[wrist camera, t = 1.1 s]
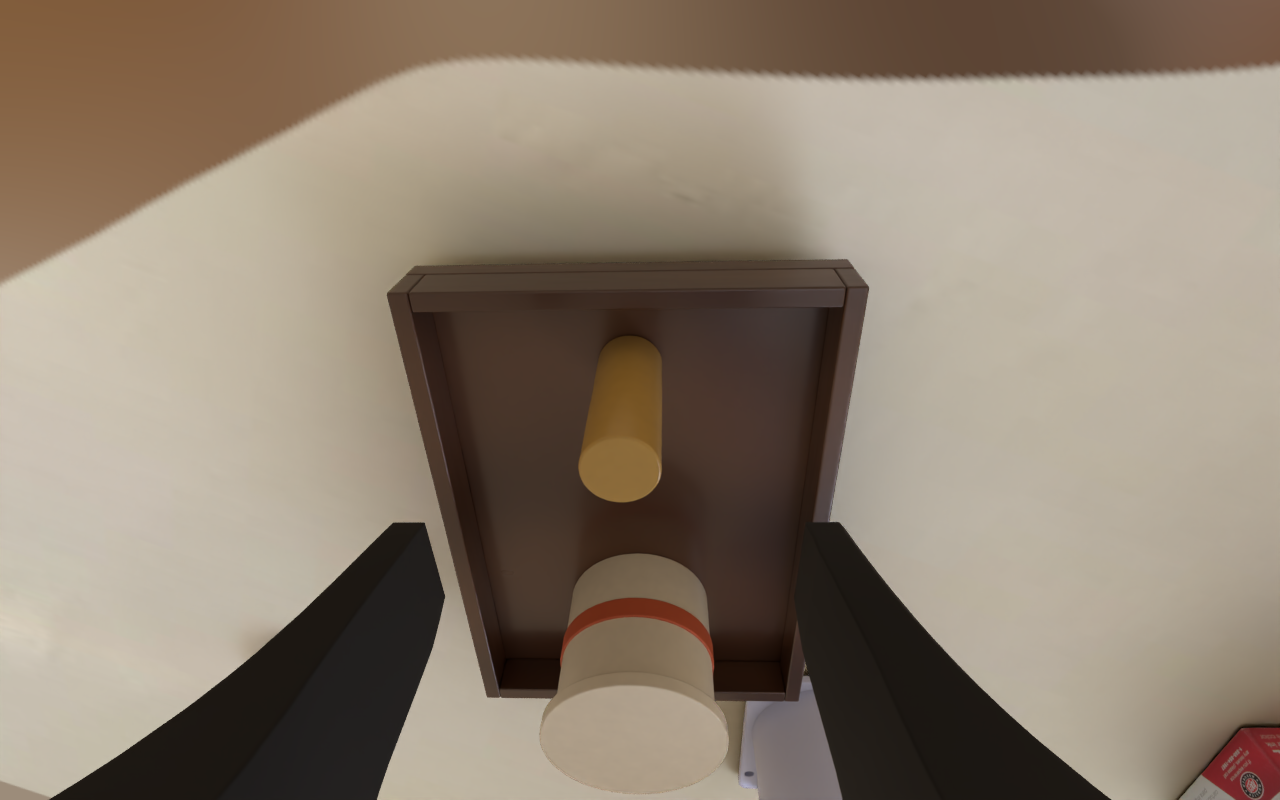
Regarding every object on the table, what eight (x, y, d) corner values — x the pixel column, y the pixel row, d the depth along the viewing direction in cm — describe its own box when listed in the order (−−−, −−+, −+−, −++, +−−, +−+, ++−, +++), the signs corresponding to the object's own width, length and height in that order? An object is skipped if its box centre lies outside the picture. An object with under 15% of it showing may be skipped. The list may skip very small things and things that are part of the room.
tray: (789, 654, 28) (819, 806, 22) (498, 651, 28) (460, 799, 23) (848, 258, 18) (924, 355, 13) (413, 265, 19) (314, 361, 14)
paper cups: (713, 652, 27) (724, 796, 22) (570, 650, 27) (549, 793, 22) (719, 546, 23) (733, 687, 18) (556, 545, 24) (528, 684, 19)
